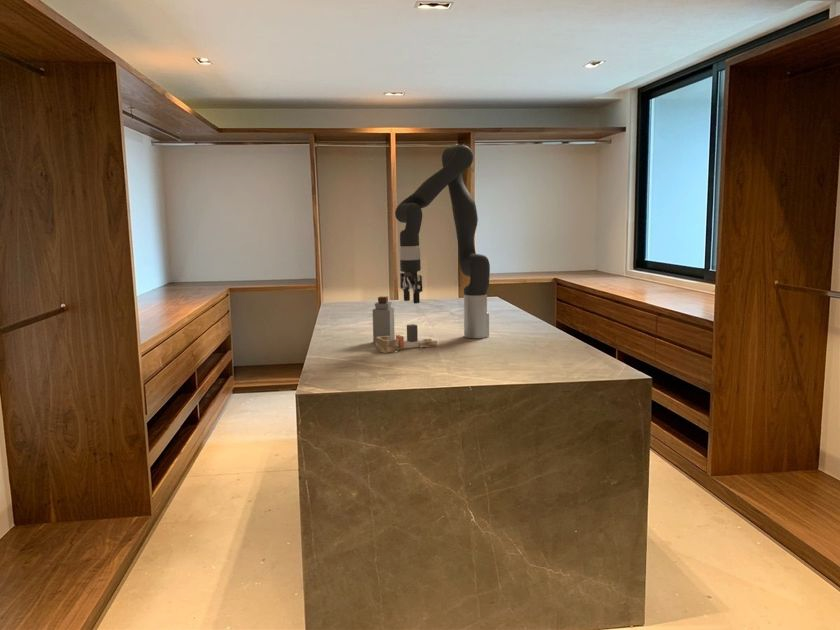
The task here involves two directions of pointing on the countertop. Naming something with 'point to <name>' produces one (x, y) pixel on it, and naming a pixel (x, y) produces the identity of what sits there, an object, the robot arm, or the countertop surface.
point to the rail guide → (427, 343)
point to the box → (386, 344)
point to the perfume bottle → (383, 319)
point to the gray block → (409, 338)
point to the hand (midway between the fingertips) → (411, 302)
